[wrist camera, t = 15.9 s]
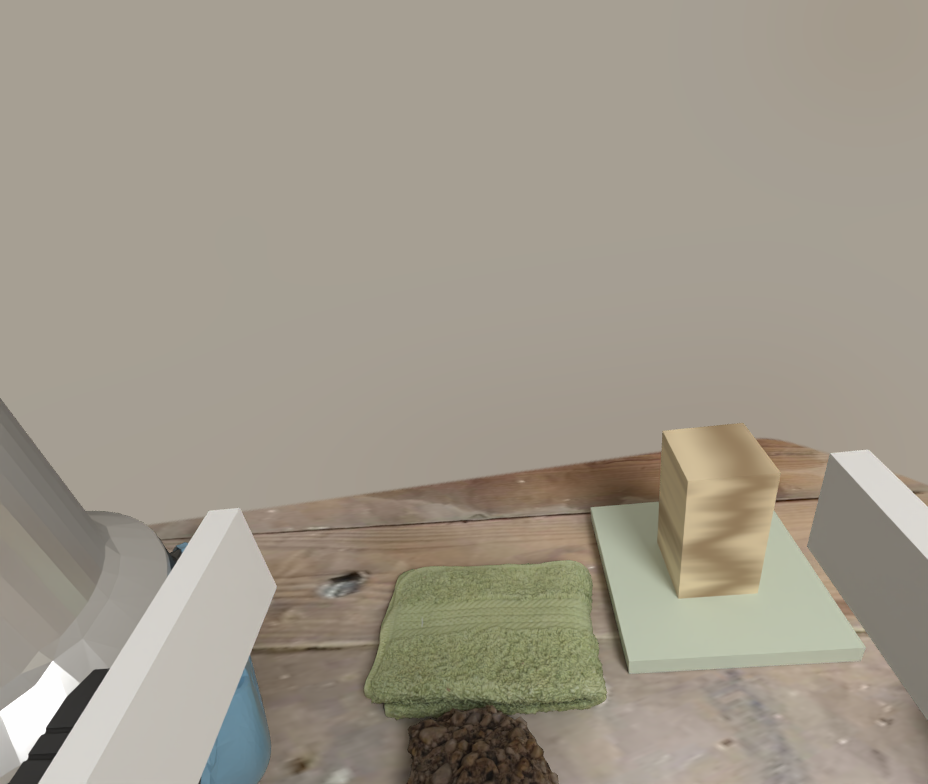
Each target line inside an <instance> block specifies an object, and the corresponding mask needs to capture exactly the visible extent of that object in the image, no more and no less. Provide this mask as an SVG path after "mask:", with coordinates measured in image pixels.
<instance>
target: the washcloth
mask: <svg viewBox="0 0 928 784" xmlns="http://www.w3.org/2000/svg"><path fill="white" fill-rule="evenodd" d="M592 586H593V585H592V579H591V575H590V573H589V571H588V569H587V568H586V567H585V566H583V565H582V564H581V563H579V562H576V561H571V560H566V561H553V562H544V563H542V564H529V563H528V564H521V565H518V564H503V565H486V566H469V567H462V566H453V567H449V566H430V567H423V568H419V569H416V570H414V569H412V570H410V571H407V572H404V573H403V574H401V575H400V576H399V578H398V580H397V583H396V585H395V591H394V594H393V596H392V599H391V602H390V604H389V607H388V609H387V612H386V615H385V617H384V620H383V622H382V625H381V631H380V645H379V648H378V651H377V655H376V658H375V661H374V664H373V667H372V669H371V671H370V673H369V675H368V677H367V679H366V682H365V686H364V694H365V696H366V697H367V698H368V699H372V703H374V702H375V703H376V704H381V703H382V702H383V703H385V704H384V707H385V715H386V716H387V717H390V718H395V719H396V720H398V719H402V718H424V717H427V716H428V717H429V716H431V717H433V718H434V717H436V718H438V717H440V716H442V715H443V714H444V713H446V712H449V711H450V710H451V709H452V708H454V709H459V710H464V711H467V710H470V709H474V708H483V707H485V706H487V705H493V706H494V707H495V708H496V710H499V711H502V712H503V714H508V715H513V714H515V713H520V714H521V713H525V714H531V713H533V714H536V712H538V711H541V712H543V711H544V712H546V713H547V712H548V711H556V710H557V711H559V712H560V711H567V710H571V709H579V710H584V709H590V708H591V707H592V706H595V705H598V704H600V703H602V702H604V701H605V700H606V698H607V696H606V694H607V691H606V687H605V681H604V678H603V671H602V664H601V662H600V660H599V658H598V654H599V647H598V644H599V643H598V642H597V639H596V638H595V635H594V634H593V629H592V622H591V618H590V612H591V610H592V605H591V603H592V599H591V596H592Z"/></svg>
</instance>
